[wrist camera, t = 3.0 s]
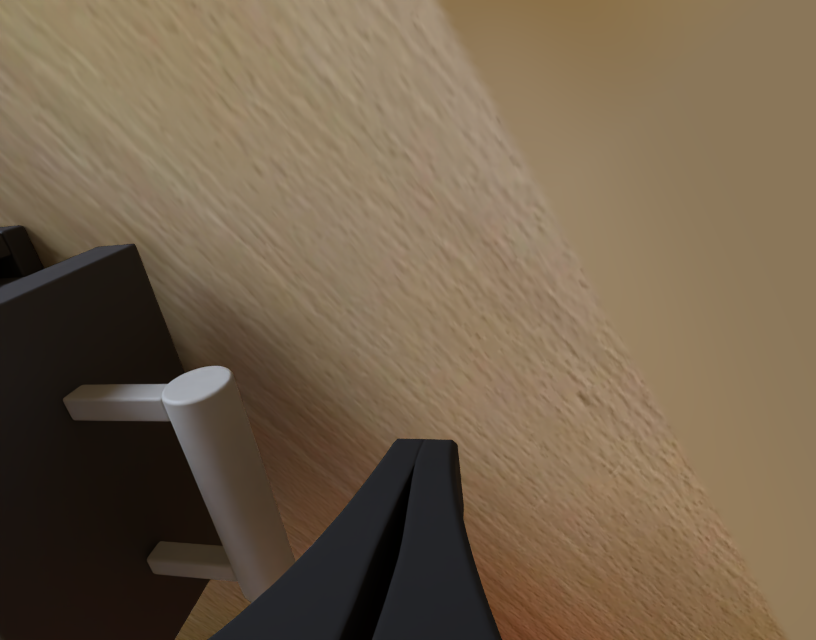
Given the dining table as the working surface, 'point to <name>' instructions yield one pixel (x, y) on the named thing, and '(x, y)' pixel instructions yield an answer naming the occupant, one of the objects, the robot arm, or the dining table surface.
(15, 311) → the drawer
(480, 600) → the robot arm
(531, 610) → the dining table surface
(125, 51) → the dining table surface
